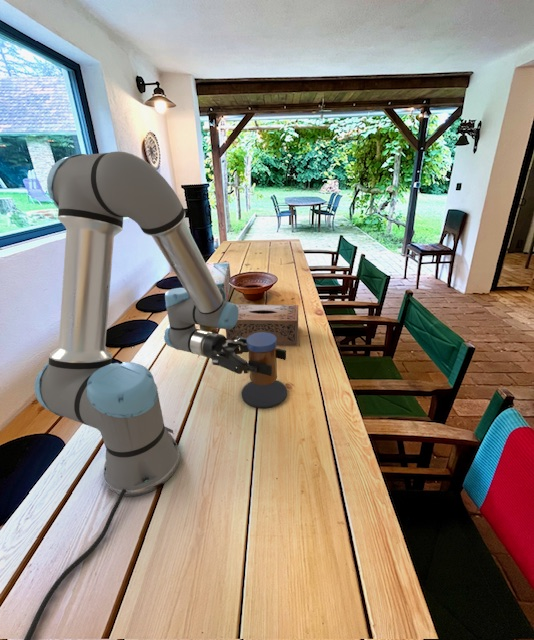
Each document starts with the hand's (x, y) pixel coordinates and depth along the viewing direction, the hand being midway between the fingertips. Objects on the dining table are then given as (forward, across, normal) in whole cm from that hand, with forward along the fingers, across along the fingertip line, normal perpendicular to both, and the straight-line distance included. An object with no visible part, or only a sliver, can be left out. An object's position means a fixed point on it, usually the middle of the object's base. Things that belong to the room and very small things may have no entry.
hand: (278, 362), depth 85 cm
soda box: (-67, -60, -12) cm, 91 cm away
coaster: (-5, 0, -12) cm, 12 cm away
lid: (-5, 0, +6) cm, 7 cm away
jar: (-5, 0, -6) cm, 8 cm away
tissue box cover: (-22, -31, -12) cm, 40 cm away
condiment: (-38, -16, -12) cm, 43 cm away
